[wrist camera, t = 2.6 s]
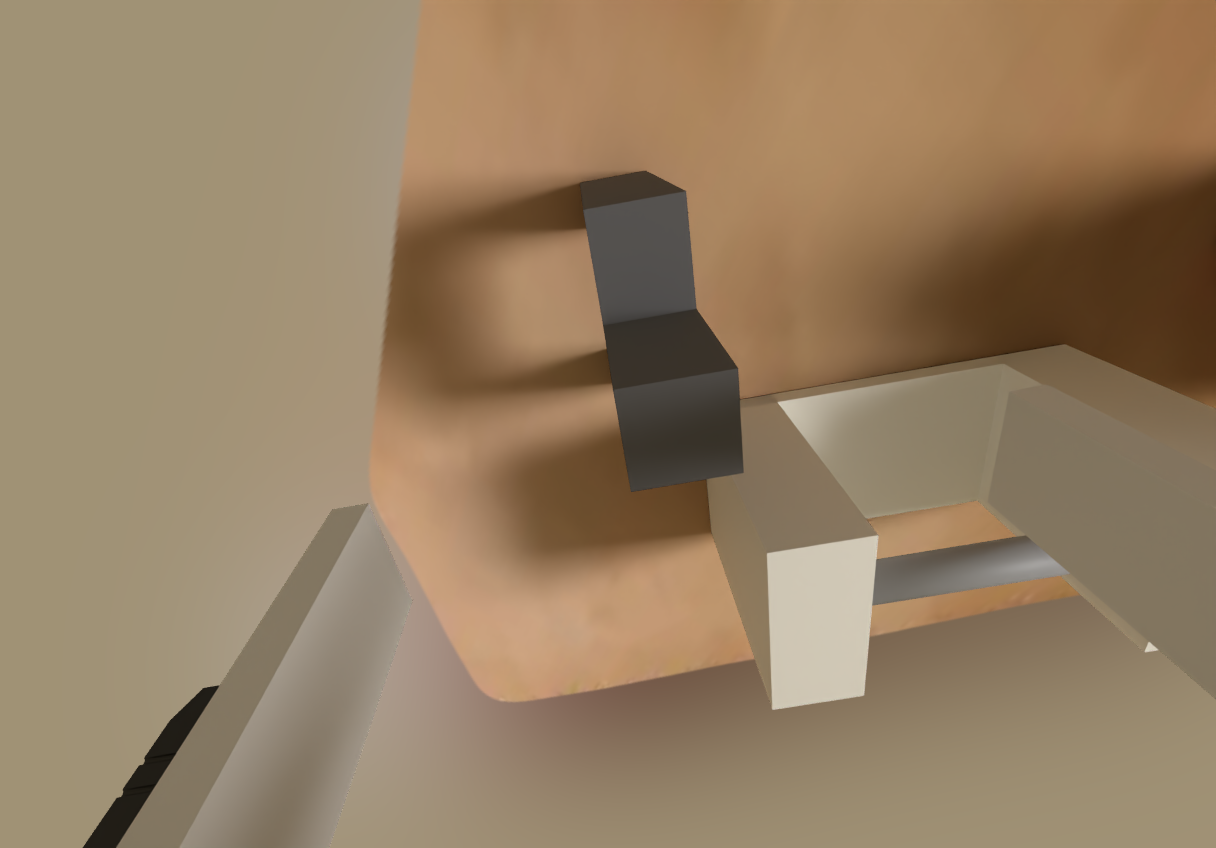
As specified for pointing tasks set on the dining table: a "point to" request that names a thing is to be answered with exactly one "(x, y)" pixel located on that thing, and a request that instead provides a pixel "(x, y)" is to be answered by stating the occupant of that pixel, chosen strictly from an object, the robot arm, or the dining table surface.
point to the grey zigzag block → (660, 336)
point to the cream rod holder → (895, 501)
